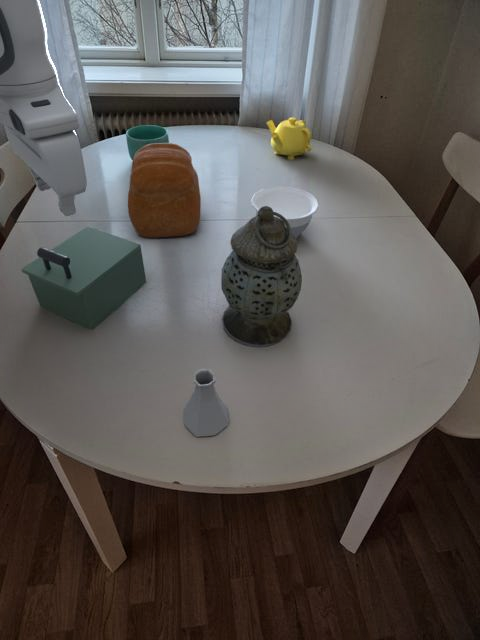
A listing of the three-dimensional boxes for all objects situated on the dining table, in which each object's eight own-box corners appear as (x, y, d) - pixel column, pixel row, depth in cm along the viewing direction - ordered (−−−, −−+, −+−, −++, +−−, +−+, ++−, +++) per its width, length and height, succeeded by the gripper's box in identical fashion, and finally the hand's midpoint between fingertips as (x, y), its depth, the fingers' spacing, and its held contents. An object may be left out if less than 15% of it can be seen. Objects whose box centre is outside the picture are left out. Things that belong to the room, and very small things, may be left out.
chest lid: (78, 296, 74) (71, 272, 71) (22, 272, 79) (12, 248, 75) (141, 247, 85) (137, 224, 82) (89, 229, 90) (83, 206, 86)
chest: (92, 330, 81) (81, 294, 75) (40, 306, 85) (25, 270, 79) (146, 282, 91) (141, 247, 85) (97, 263, 96) (89, 229, 90)
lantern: (290, 299, 88) (306, 185, 71) (297, 350, 78) (318, 232, 61) (222, 298, 88) (222, 184, 71) (220, 349, 78) (219, 230, 61)
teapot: (264, 145, 148) (266, 110, 140) (303, 144, 149) (307, 110, 141) (270, 162, 138) (272, 126, 130) (311, 162, 139) (316, 126, 131)
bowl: (325, 231, 108) (331, 200, 102) (289, 259, 99) (293, 226, 93) (274, 210, 115) (277, 180, 110) (236, 234, 106) (237, 202, 100)
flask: (176, 407, 69) (171, 367, 62) (218, 393, 71) (218, 352, 64) (192, 444, 64) (188, 405, 57) (236, 427, 66) (238, 387, 59)
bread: (198, 196, 120) (196, 134, 108) (203, 238, 105) (200, 171, 93) (135, 198, 118) (125, 136, 107) (130, 241, 103) (118, 173, 91)
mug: (129, 156, 138) (124, 125, 132) (168, 153, 141) (165, 123, 134) (132, 178, 127) (127, 146, 120) (174, 175, 129) (172, 143, 123)
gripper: (-23, 85, 59) (11, 180, 69) (29, 129, 48) (62, 236, 57) (23, 78, 62) (50, 170, 72) (83, 118, 51) (105, 221, 60)
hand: (56, 200), depth 64 cm, fingers open, 8 cm apart
